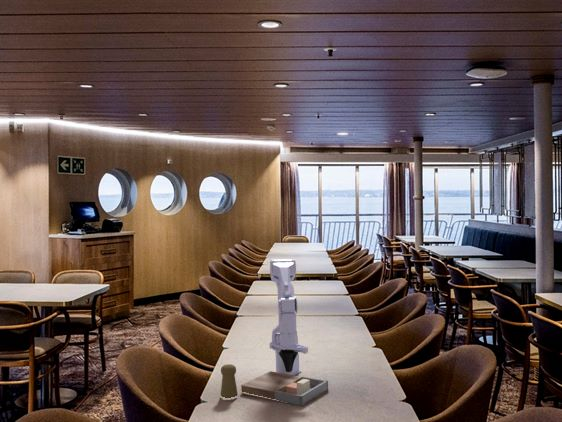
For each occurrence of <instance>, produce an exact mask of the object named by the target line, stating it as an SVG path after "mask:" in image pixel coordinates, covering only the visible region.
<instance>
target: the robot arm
mask: <svg viewBox="0 0 562 422" xmlns="http://www.w3.org/2000/svg"><path fill="white" fill-rule="evenodd" d="M269 271H270V279H271V282H274V283H275V285H276V288H277V311H278V313H277V314H278V315H277V317H278V325H277V326H275V327H274V328H273V329H272V331H271V342H269V349H270V350H273V351H275V372H277V373H283V374H289V375H294V376H296V375H297V374H299V373H301V372H302V370H301V369H300V354H299V353H302V354H303V355H304V354H308V353H309V347H308V346H305V345H302V344H299V337H298V330H297V314H298V300H297V297H296V295H295V289H294V286H293V284H291V282H292V281H295V278H296V273H297V262H296V259H295V258H289V259H270V261H269Z"/></svg>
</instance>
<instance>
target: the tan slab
mask: <svg viewBox="0 0 562 422" xmlns="http://www.w3.org/2000/svg"><path fill="white" fill-rule="evenodd" d="M300 380H302V376H298V375H289V374H283V373H277V372H276V371H268V372H265V373H264V374H262V375H260V376H259V375H258V377H255V378H253V379H251V380H249V381H247V382H245V383H242V384H241V385H240V387H241V390H240V391H242V392H246V393H249V394H254V395H258V396H263V397H267V398H271V399H275V391H276V390H277V391H282V392H286V386H287V385H289V384H291V383H292V382H293V383H297V382H298V381H300Z"/></svg>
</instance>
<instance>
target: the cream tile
mask: <svg viewBox="0 0 562 422" xmlns="http://www.w3.org/2000/svg"><path fill="white" fill-rule="evenodd" d="M309 390H310V380H307V379H302V380H300V381H298V382H297V395H302V394H304V393H305V392H307V391H309Z"/></svg>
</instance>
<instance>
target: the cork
mask: <svg viewBox="0 0 562 422" xmlns="http://www.w3.org/2000/svg"><path fill="white" fill-rule="evenodd" d="M220 373H221V375H222V378H221V379H222V380H221V387H220V388H221V389H220V395H221V396H222V397H225V398H231V397H235V396H237V395H238V389H237V381H236V373H237V367H236V366H235V365H234V364H228V363H227V364H223V365H222V366H221V368H220ZM238 396H239V395H238Z"/></svg>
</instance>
